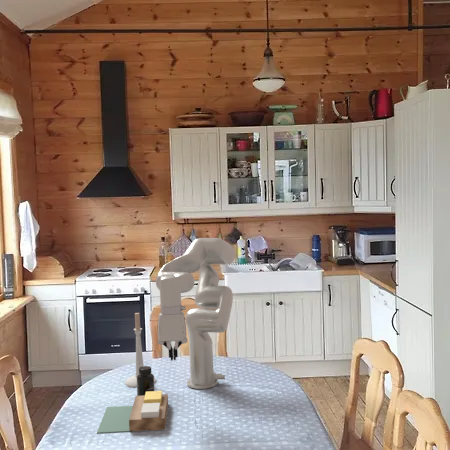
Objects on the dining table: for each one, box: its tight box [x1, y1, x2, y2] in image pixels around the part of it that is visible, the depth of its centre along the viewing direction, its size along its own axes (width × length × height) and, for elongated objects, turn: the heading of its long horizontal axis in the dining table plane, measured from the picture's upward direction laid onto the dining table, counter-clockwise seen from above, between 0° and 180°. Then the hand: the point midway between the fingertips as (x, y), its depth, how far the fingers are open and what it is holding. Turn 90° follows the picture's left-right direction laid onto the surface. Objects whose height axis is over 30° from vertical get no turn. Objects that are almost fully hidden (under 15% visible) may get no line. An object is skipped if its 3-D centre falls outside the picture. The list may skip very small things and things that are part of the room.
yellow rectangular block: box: [144, 390, 163, 404], centre depth 215 cm, size 6×8×2 cm
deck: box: [129, 393, 169, 432], centre depth 209 cm, size 12×22×4 cm, turn 2°
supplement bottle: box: [136, 365, 156, 396], centre depth 228 cm, size 7×7×12 cm
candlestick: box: [124, 312, 157, 388], centre depth 245 cm, size 13×13×30 cm
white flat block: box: [141, 403, 160, 418], centre depth 203 cm, size 6×8×2 cm
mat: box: [96, 405, 133, 434], centre depth 209 cm, size 12×22×1 cm, turn 2°
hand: (173, 359), depth 214 cm, fingers closed
